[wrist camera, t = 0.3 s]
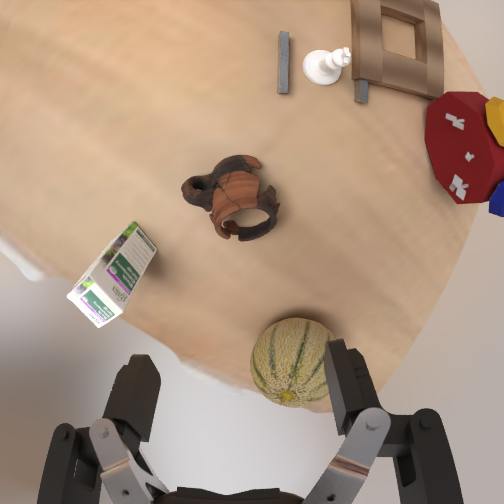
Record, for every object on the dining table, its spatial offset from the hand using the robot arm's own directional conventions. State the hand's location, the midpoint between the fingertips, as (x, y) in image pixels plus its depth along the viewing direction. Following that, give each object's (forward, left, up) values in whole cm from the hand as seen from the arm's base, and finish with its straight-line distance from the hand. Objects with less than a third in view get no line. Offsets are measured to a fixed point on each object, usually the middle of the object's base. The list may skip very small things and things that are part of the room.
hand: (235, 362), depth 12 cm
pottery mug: (0, -1, -28) cm, 28 cm away
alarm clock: (-10, +28, -28) cm, 41 cm away
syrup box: (+8, -16, -28) cm, 34 cm away
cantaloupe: (+25, +9, -28) cm, 39 cm away
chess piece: (-17, +10, -28) cm, 34 cm away
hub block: (-24, +20, -28) cm, 42 cm away
